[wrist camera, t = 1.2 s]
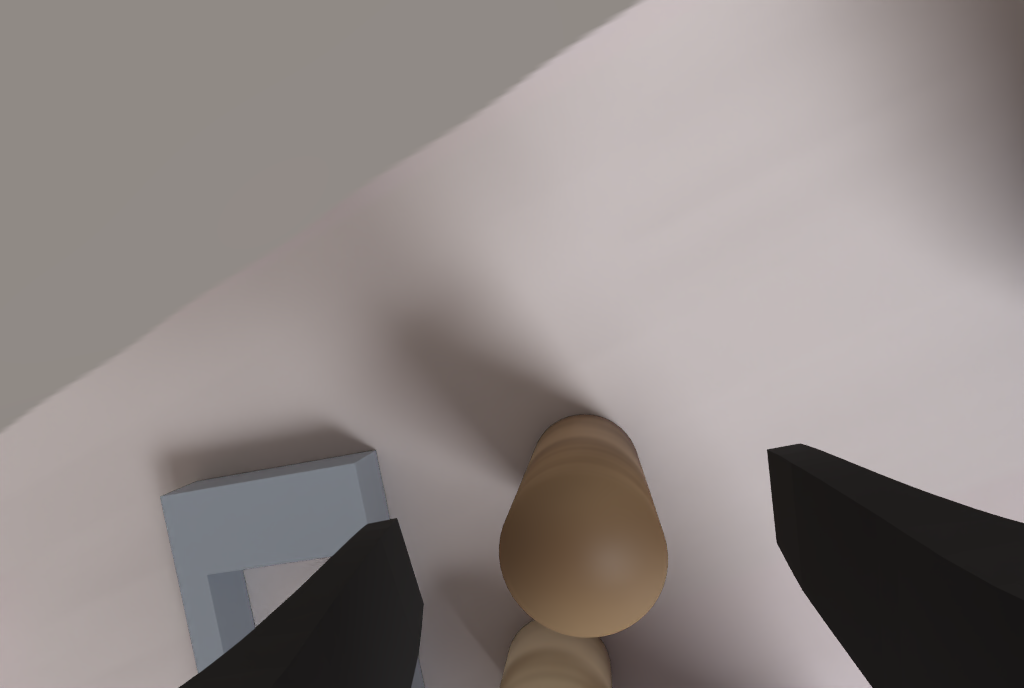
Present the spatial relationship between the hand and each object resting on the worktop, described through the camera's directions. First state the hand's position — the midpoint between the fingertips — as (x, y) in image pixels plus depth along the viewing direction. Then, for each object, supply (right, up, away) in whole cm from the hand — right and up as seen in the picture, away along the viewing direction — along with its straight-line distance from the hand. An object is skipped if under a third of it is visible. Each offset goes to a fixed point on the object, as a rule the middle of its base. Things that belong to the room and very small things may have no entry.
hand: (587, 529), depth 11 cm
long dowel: (+1, -1, +11) cm, 11 cm away
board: (-10, -7, +12) cm, 17 cm away
